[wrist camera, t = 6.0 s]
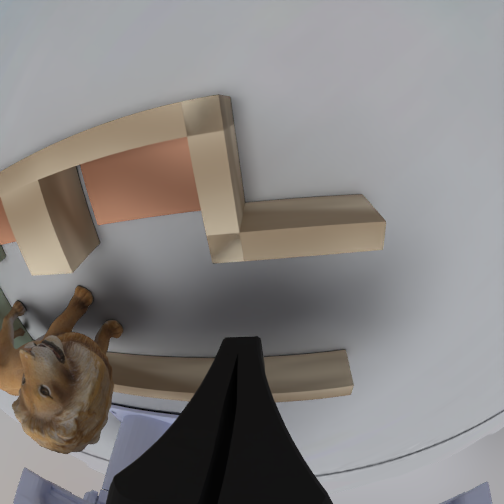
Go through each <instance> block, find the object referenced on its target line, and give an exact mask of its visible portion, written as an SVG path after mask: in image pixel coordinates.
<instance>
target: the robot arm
mask: <svg viewBox="0 0 504 504" xmlns="http://www.w3.org/2000/svg"><path fill="white" fill-rule="evenodd" d="M109 411H110V412H111V413H112V414H113V415H114V416H115V417H116V418H117V419H118V420H119V421H120V422H121V425H120V428H119V432H118V435H117V438H116V441H115V444H114V448H113V451H112V454H111V458H110V461H109V464H108V468H107V472H106V475H105V479H104V482H103V487H102V489H104V490H106V491H104V490H100V494H99V496H97V495H98V492H96V491H94V490H92V491H91V492H86V493H85V495H84V498H83V499H81V498H79V497H77V496H75V495H73V494H72V493H71V492H69V491H67V490H65V489H63V488H61V487H59V486H57V485H56V484H54V483H52V482H50V481H48V480H45V479H44V478H42V477H40V476H39V475H37V474H35V473H34V472H32V471H30V470H29V469H27V468H24V469H23V472H22V475H21V478H20V482H19V485H18V488H17V492H16V495H15V498H14V502H13V503H14V504H333V503H332V501H331V499H330V497H329V495H328V493H327V492H326V490H325V489H324V488H323V486H322V485H321V484H320V482H319V481H318V480H317V478H316V477H315V475H314V474H313V473H312V471H311V470H310V468H309V466H308V465H307V463H306V462H305V460H304V459H303V457H302V455H301V454H300V452H299V450H298V448H297V447H296V445H295V443H294V442H293V440H292V438H291V436H290V434H289V432H288V430H287V428H286V426H285V424H284V422H283V420H282V418H281V415H280V413H279V411H278V408H277V406H276V403H275V401H274V398H273V396H272V393H271V390H270V387H269V384H268V381H267V377H266V374H265V364H264V358H263V351H262V345H261V338H259V337H258V336H255V337H230V338H225V339H223V342H222V344H221V346H220V349H219V351H218V353H217V355H216V357H215V359H214V361H213V363H212V365H211V367H210V369H209V371H208V372H207V374H206V376H205V378H204V379H203V381H202V383H201V385H200V386H199V388H198V389H197V391H196V392H195V394H194V395H193V397H192V399H191V400H190V402H189V403H188V404H187V406H186V407H185V409H184V410H183V411H182V413H181V414H180V415H174V414H165V413H158V412H150V411H144V410H138V409H132V408H127V407H121V406H116V405H112V404H111V408H110V410H109ZM107 491H108V492H107ZM440 504H492V499H491V494H490V489H489V484H488V482H485V483H483V484H481V485H479V486H477V487H475V488H473V489H471V490H469V491H467V492H464V493H462V494H459V495H457V496H455V497H453V498H451V499H449V500H447V501H445V502H442V503H440Z"/></svg>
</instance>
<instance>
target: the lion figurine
mask: <svg viewBox="0 0 504 504" xmlns="http://www.w3.org/2000/svg"><path fill="white" fill-rule="evenodd" d="M92 301H93V297H92V294H91V292H90V291H88V290H87V289H85V288H83V287H81V286H77V287H76V289H75V293H74V296H73V297H72V299H71V301H70V303H69V305H68V306H67V308H66V309H65V311H64V312H63V313H62V314H61V315H60V316H59V317H57V318H56V320H55V321H54V322H53V323H52V324H51V326H50V328H49V330H48V331H47V333H46V334H45V335H43V336H41V337H40V338H38V339H36V340H35V341H31V342H28V343H26V344H24V345H22V346H20V347H19V348H18V349H15V348H14V339H15V338H16V337H18V336H24V334H25V331H24V330H23V329H22V328H21V327H20V328H19V329H18V330H15V331H14V328H13V322H14V321H15V319H16V318H17V317H19V316H22V315H24V314H25V312H26V310H25V307H24V306H23V305H22V303H21V302H19V301H16V302H15V303H14V305H13V307H12V309H11V310H10V312H9V313H8V315H6V316H5V317H4V320H3V323H2V329H1V331H0V389H2V390H4V391H6V392H7V393H9V394H11V395H15V396H19V397H18V399H17V400H16V401H14V403H13V404H12V408H13V410H14V413H15V416H16V418H17V419H18V421H19V422H20V423H21V424H22V428H23V430H24V432H25V433H26V434H27V435H29V436H30V437H31V438H32V439H33V440H35V441H36V442H37V443H38V444H39V445H40V446H42V447H44V448H47V449H49V450H51V451H55V452H58V453H63V454H68V453H70V452H80V451H82V450H83V449H84V448H85V447H86V446H87V445H88V444H95V443H97V442H98V441H99V438H100V433H101V430H102V429H103V427H104V426H105V425H106V423H107V420H108V412H109V410H110V408H111V400H112V394H113V389H114V383H113V378H112V367H111V365H110V364H109V361H108V357H107V356H106V352H107V350H108V346H109V340H110V338H111V337H115V338H119V337H120V336H121V334H122V333H123V328H122V326H121V325H120V324H119V323H118V322H117V321H115V320H108V321H106V322H105V323H104V324H103V325H102V326H101V328H100V329H99V331H98V333H97V334H96V337H95V341H93V340H92V339H91V338H89V337H87V336H85V335H83V334H80V333H75V332H72V329H73V327H74V325H75V324H76V322H77V321H78V320H79V319H80V318H81V317H82V316H83V315H84V314H85V313H86V311H87V309H88V306H89V305H90V304H92Z"/></svg>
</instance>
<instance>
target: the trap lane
mask: <svg viewBox="0 0 504 504" xmlns="http://www.w3.org/2000/svg"><path fill="white" fill-rule="evenodd" d="M77 165H80V167H81V170H82V174H83V178H84V182H85V185H86V189H87V192H88V195H89V199H90V202H91V205H92V208H93V212H94V215H95V218H96V221H97V224H98V225H103V224H109V223H115V222H121V221H127V220H134V219H140V218H147V217H154V216H161V215H169V214H176V213H184V212H192V211H200V210H201V212H202V217H203V222H204V226H205V231H206V236H207V240H208V245H209V249H210V254H211V258H212V262H213V264H214V263H228V262H241V261H254V260H266V259H279V258H291V257H304V256H316V255H328V254H339V253H351V252H363V251H374V250H383V246H384V237H385V228H386V221H385V220H384V218H383V217H382V216H381V215H380V214H379V213H378V211H377V210H376V209H375V208H374V207H373V206H372V205H371V204H370V202H369V201H368V200H367V199H366V198H365V197H364V196H363V195H362V194H359V195H339V196H322V197H307V198H293V199H281V200H269V201H258V202H248V203H245V198H244V191H243V184H242V177H241V170H240V162H239V155H238V148H237V141H236V134H235V127H234V120H233V113H232V105H231V98H230V97H229V96H224V95H213V96H207V97H202V98H197V99H192V100H187V101H182V102H178V103H173V104H169V105H165V106H161V107H157V108H153V109H150V110H146V111H142V112H139V113H135V114H132V115H129V116H126V117H122V118H119V119H116V120H113V121H110V122H107V123H105V124H102V125H99V126H96V127H94V128H91V129H88V130H86V131H83V132H81V133H78V134H76V135H73V136H71V137H68V138H66V139H64V140H61V141H59V142H57V143H55V144H53V145H50V146H48V147H46V148H44V149H42V150H40V151H38V152H36V153H34V154H32V155H30V156H28V157H26V158H24V159H22V160H20V161H19V162H17V163H15V164H13V165H11V166H10V167H8V168H6V169H4V170H3V171H1V172H0V262H1V261H2V260H3V259H4V258H5V257H6V256H5V253H4V251H3V249H2V246H1V245H2V244H7V243H11V242H15V241H17V244H18V246H19V248H20V251H21V253H22V255H23V257H24V260H25V262H26V264H27V266H28V268H29V270H30V272H31V274H32V276H34V275H51V274H67V273H73V272H74V271H75V270H76V269H77V268H78V267H79V265H80V264H81V263H82V262H83V261H84V260H85V259H86V258H87V256H88V255H89V254H90V253H91V252H92V251H93V250H94V249H95V248H96V247H97V246H98V245H99V244H100V241H99V239H98V236H97V233H96V230H95V228H94V225H93V222H92V219H91V216H90V213H89V210H88V207H87V204H86V200H85V197H84V194H83V190H82V187H81V183H80V180H79V176H78V173H77V169H76V166H77ZM11 309H12V308H11V306H10V304H9V303H8V301H7V299H6V298H5V296H4V294H3V292H2V290H1V289H0V331H1V329H2V323H3V320H4V317H5V316H6V315H8V313H9V312H10V310H11ZM20 327H21V328H22V329H23V330H24V331H25V334H24V336H18V337H16V338H15V339H14V348H15V349H18V348H19V347H20V346H22V345H24V344H26V343H28V342H31V341H35V340H32V338H31V337H30V335H29V334H28V333H27V331H26V330H25V328H24V327H23V325H22V324H21V322H20V321H19V319H18V317H17V318H16V319H15V321H14V322H13V328H14V331H15V330H18V329H19V328H20ZM106 356H107V357H108V361H109V364H110V365H111V367H112V378H113V383H114V389H113V392H119V393H124V394H131V395H137V396H144V397H152V398H160V399H169V400H180V401H190V400H191V399H192V397H193V395H194V394H195V392H196V391H197V389H198V388H199V386H200V385H201V383H202V381H203V379H204V378H205V376H206V374H207V372H208V371H209V369H210V367H211V365H212V363H213V361H214V359H215V358H182V357H160V356H144V355H132V354H121V353H111V352H106ZM263 358H264V364H265V374H266V377H267V381H268V384H269V387H270V390H271V393H272V396H273V398H274V401H275V402H288V401H302V400H313V399H322V398H330V397H338V396H345V395H351V393H352V389H353V386H354V384H353V380H352V375H351V371H350V366H349V362H348V357H347V353H346V350H339V351H330V352H321V353H311V354H300V355H287V356H271V357H263Z"/></svg>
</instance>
